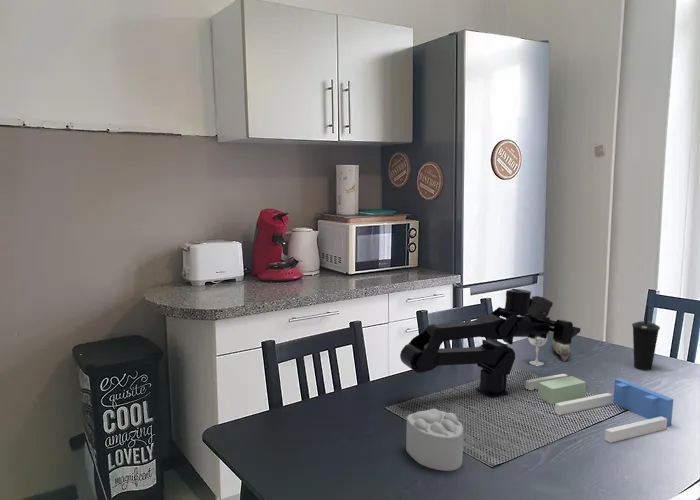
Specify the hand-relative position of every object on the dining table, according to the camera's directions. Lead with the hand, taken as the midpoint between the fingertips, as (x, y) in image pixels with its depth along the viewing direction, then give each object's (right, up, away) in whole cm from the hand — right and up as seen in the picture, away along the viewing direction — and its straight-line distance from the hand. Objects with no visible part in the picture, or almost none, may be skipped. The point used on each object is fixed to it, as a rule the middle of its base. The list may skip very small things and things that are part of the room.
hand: (568, 326), depth 157 cm
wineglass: (-3, -14, +17) cm, 22 cm away
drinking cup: (+29, -15, +13) cm, 35 cm away
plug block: (-6, -18, -10) cm, 22 cm away
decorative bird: (+8, -13, +26) cm, 30 cm away
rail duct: (-2, -19, -17) cm, 25 cm away
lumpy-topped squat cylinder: (-45, -22, -41) cm, 65 cm away
